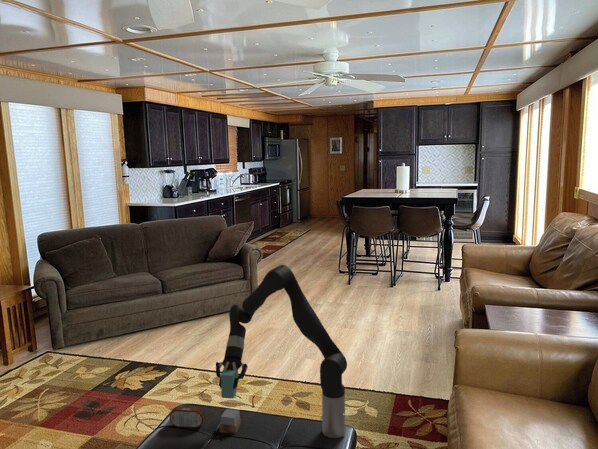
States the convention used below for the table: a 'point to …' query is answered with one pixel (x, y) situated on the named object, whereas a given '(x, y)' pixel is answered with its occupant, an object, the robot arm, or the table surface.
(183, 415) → the tin
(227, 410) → the tower top
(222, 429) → the tower base
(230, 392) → the block
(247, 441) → the table surface
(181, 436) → the table surface
